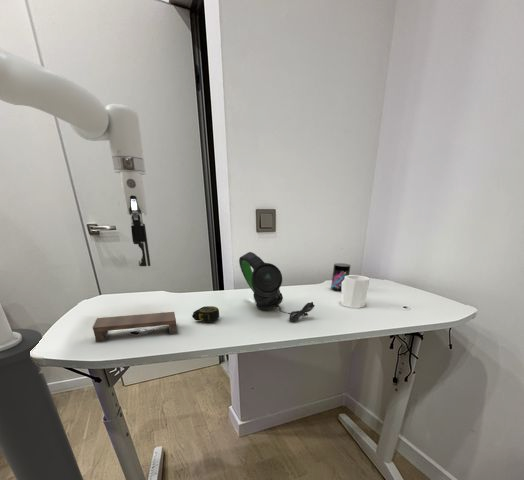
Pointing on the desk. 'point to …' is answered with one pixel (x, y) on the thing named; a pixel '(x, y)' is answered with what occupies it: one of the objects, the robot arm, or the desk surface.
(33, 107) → the robot arm
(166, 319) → the shelf
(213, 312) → the tape measure
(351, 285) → the mug
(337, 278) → the supplement container
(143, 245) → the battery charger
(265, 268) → the headset
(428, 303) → the desk surface
